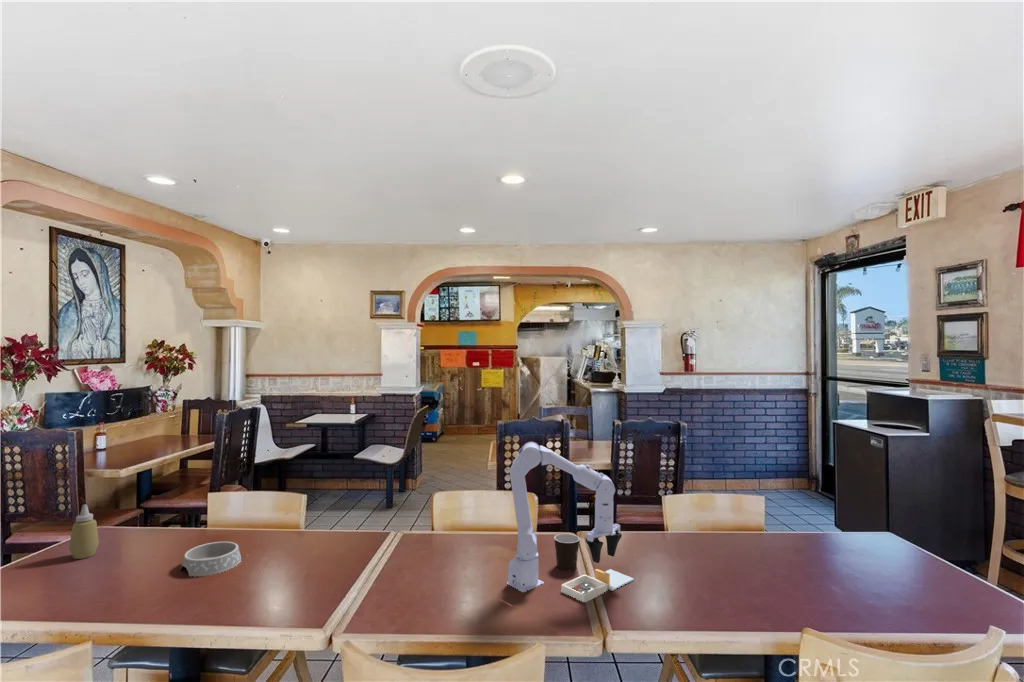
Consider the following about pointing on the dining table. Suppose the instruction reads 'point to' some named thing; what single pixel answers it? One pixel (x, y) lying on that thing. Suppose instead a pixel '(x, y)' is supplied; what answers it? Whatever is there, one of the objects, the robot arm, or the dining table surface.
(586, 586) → the grey shiny rounded part
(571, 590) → the tub
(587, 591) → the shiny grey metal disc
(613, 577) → the lid
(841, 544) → the dining table surface
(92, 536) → the squeeze bottle
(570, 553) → the coffee mug
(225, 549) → the dog bowl
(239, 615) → the dining table surface
